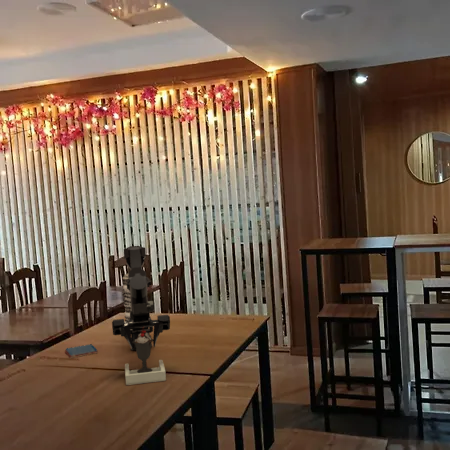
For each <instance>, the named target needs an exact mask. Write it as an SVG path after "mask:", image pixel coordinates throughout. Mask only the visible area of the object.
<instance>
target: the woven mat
mask: <svg viewBox="0 0 450 450" xmlns="http://www.w3.org/2000/svg"><path fill="white" fill-rule="evenodd" d="M64 352H65V354H66V355H67V357H69V358H70V359H73V358H79V357H80V358H81V357H85V356H91V355H96V354H97V353H99V352H98V350H97V348H96V347H95V346H94V345H93V344H92V343H90V344H85V345H78V346H72V347H69V348H68V347H67V348H65V350H64Z"/></svg>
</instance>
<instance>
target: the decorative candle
mask: <svg viewBox="0 0 450 450" xmlns="http://www.w3.org/2000/svg"><path fill="white" fill-rule="evenodd" d="M128 273H129V272H128ZM128 273H125V274H124V276H123V277H122V279H123V284H122V290H121V292H122V297H123V299H122V300H123V306H124V307H125V311H124V322H129V321H128V319H130V313H131V298H130V291H129V289H127V280H126V279H128ZM130 330H132V329H130Z"/></svg>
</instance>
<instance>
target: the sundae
mask: <svg viewBox="0 0 450 450" xmlns="http://www.w3.org/2000/svg"><path fill="white" fill-rule="evenodd" d="M143 328H144V327H143ZM142 330H143V329H142ZM152 342H153V337H151V338H150V337H149V335H148V333H146V331H145V330H143V331H142V332H140V333H139V335H138V337H137V338H136V339H134V340H133V343H134V344H135V347H136V350H135V352H136V355H137V359H138V360H139V361H142V364H141V365H142V366H141V368H140V369H137V370H138V371H137V372H138V373H145V372H152V369H151V368H152V367H151V368H150V367H148V366H147V360H148V359H150V356H151V351H152V349H151V348H152V346H151V343H152Z"/></svg>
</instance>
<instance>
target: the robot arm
mask: <svg viewBox="0 0 450 450" xmlns="http://www.w3.org/2000/svg"><path fill="white" fill-rule="evenodd" d="M146 255H147V252H146V247H144V246H142V245H129V246H127V247H126V248H124V249H123V259H124V261H125V263H126V266H127V267H128V269H129V271H128V279H126V280H127V289H129V291H130V298H131V313H130V319H128V321H129V322H125V318H120V319H119V318H118V319H117V318H116V319H113V320H112V321H111V327H112V335H114V336H120V337H122V338H123V337H124V339H125V340H126V342H127V343H128V344H129V347H130V351H136V347H135V344H134V343H133V340H134V339H136V338H137V337H138V335H139V333H140V332H142V331H143V330H145V331H146V333H148V335H149V337H150V338H152V339H153V341H152V342H153V343H152V342H151V347H153V348H155V347H156V345H157V340H158V338H159V336H160V334H161V333H163V332H164V331H168V330H170V329H171V319H170V315H169V314H161V315H157V319H152V317H151V313H152V312H154V311H155V306H154V300H148V288H150V286H151V285H152V281H151V280H150V278H149V277H148V276H147V272H146V271H145V270H144V269H143V266H144V264H145V259H147V256H146ZM150 312H151V313H150ZM143 327H144V328H143ZM130 329H132V330H130ZM142 329H143V330H142ZM152 332H153V337H152V335H150V334H152Z"/></svg>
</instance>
